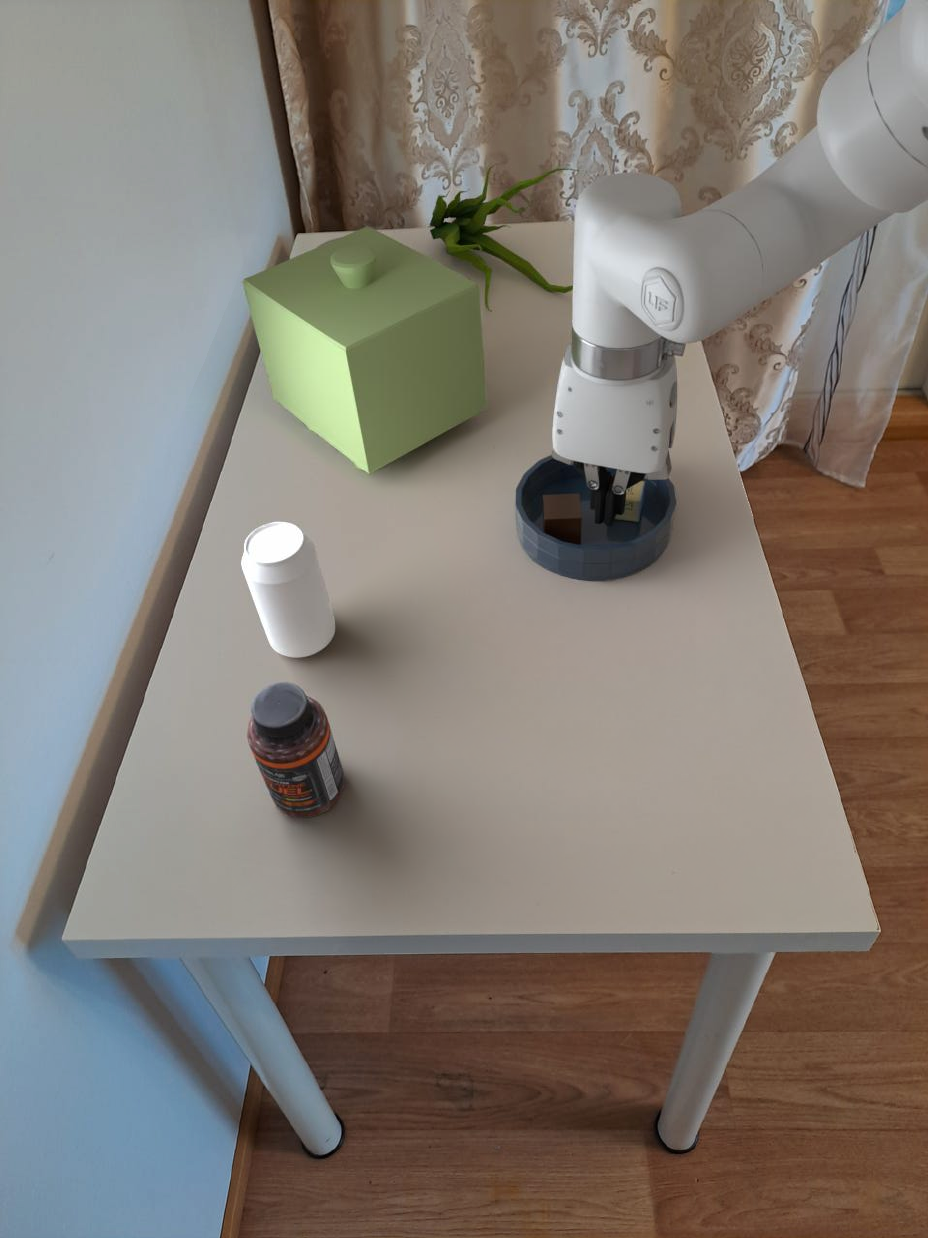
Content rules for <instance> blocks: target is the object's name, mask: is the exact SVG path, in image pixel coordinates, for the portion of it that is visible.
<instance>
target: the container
mask: <svg viewBox="0 0 928 1238" xmlns="http://www.w3.org/2000/svg"><path fill="white" fill-rule="evenodd" d="M340 237H341V238H340ZM340 237H338V238H339V239H336V238H335V239H336V240H334V241H332V242H329V243H327V244H325V245H322V246H320V247H318V246H317V247H314V248H312V249H311V250H307V251H305V252H304V253H301V254H299V255H297V256H294V257H292V258H289V259H287V260H285V261H282V262H280V263H278V264H276V265H274V266H270V267H268V268H266V269H264V270H262V271H260V272H257V273H255V274H252V275H250V276H248V277H244V278H243V279H242V287H243V290H244V293H245V297H246V301H247V305H248V308H249V313H250V316H251V320H252V324H253V328H254V332H255V335H256V339H257V343H258V346H259V350H260V354H261V356H262V357H261V358H262V361H263V364H264V369H265V372H266V376H267V379H268V380H267V381H268V383H269V387H270V390H271V394H272V398H273V400H274V401H275V402H277V403H278V404H279V405H280V406H282V408H284V409H285V410H286V411H288V412H289V413H290V414H292V415H293V416H294V417H295V418H296V419H298V420H299V421H300V422H301V423H303V424H304V425H305V427H306V429H307V430H309V431H310V432H313V433H315V434H317V435H318V436H319V437H321V438H322V439H323V440H324V441H326V442H327V443H328V444H329V445H331V446H332V447H333V448H335V450H337V451H338V452H340V453H341V454H342V455H343V456H345V457H346V458H348V459H349V460H350V461H351V462H352V463H353V464H354V466H355V467H356V469H358V470H360V471H365V472H366V473H367V474H368V475H371V474H373V473H374V472H376V471H378V470H380V469H382V468H385V466H387V465H388V464H390V463H393V461H395V460H398V459H399V458H401V457H404V455H406V454H408V453H409V452H412V451H414V450H415V449H418V448H419V447H421V446H422V445H423V446H424V444H426V443H427V442H430V441H432V440H434V439H435V438H437V437H439V436H440V435H443V434H444V433H445V432H448V431H450V430H452V429H453V428H455V427H456V426H458V425H460V424H462V423H463V422H465V421H467V420H469V419H471V418H473V417H475V416H476V415H478V414H479V413H481V412H484V411H486V410H487V409H488V403H487V385H486V370H485V353H484V341H483V339H484V338H483V324H482V311H481V309H482V308H481V298H480V296H481V295H480V286H479V285H478V284H477V282H474V281H473V280H471V279H469V278H467V277H466V276H464V275H462V274H461V273H459V272H457V271H454V270H452V268H449V267H447V266H445V265H444V264H442V263H440V262H438V261H436V260H434V259H432V258H430V257H428V256H427V255H424V254H423V253H421V252H419V251H417V250H416V249H413V248H412V247H410V246H408V245H405V244H404V243H402V242H400V241H398V240H396V239H394V238H393V237H390V236H388V235H386V234H384V233H383V232H381V231H378V230H377V229H374V228H372V227H371V226H369V225H368V226H364V227H363V228H360V229H358V230H355V231H353V232H351V233H349V234H346V235H343V236H340Z"/></svg>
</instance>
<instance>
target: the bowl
mask: <svg viewBox="0 0 928 1238" xmlns="http://www.w3.org/2000/svg"><path fill="white" fill-rule="evenodd" d="M607 471H609V472H611V475H612V479H613V476H614V475H615V473H616V472H617V469H615V468H609V467H607ZM642 481H645V489H644V501H643V506H642V511H641V516H640V520H639V522H635V521H626V520H618V519H614V521H613V524H612V526H611V527H610V526H606V524H604V521H603V523H601V524H596V523H595V510H592V509H590V500H591V489H589V488H588V487H587V484H586V479H585V478H584V477H583V476H582V475H581V474H580V473H579V472H578V471H577V470H576V469H575V468H574V467H573V465H568V464H565V463H563V462H560V461H558V460H555V459H554V458H553V457H552V454H550V455H548V456H546V457H543V458H541V459H539V460H538V461H536V463H535V464H533V465H532V466H531V467H529V468H528V469H527V470H526V471H525V472H524V473H523V475H522V476H521V479H520V480H519V483H518V485H517V486H516V489H515V503H514V505H515V506H514V507H515V527H516V528H515V529H516V534H517V538H518V541H519V543H520V545H521V547H522V549H523V550H524V552H525V553H526V555H528V557H529V558H531V560H533V561H534V562H535V563H536V564H538V565H539V566H541V567H542V568H544V569H545V570H548V571H549V572H551V573H554V574H556V575H559V576H561V577H565V578H568V579H573V580H577V581H578V580H580V581H587V582H588V581H590V582H591V581H592V582H599V581H600V582H602V581H603V582H604V581H612V580H617V579H622V578H627V577H630V576H632V575H635V574H637V573H639V572H641V571H643V570H646V568H649V567H651V565H653V564H654V563H655V562H657V561H658V560H659V559H660V558H661V556H663V554H664V553H665V551H666V550H667V549H668V546H669V544H670V542H671V537H672V533H673V530H674V524H675V516H676V509H677V497H676V496H677V495H676V489H675V485H674V483H673V482H672V481H671V479H670V477H668V479H666V480H648V479H643V480H642ZM557 494H580V504H581V515H582V526H581V545H577V544H572V543H567V542H563V541H560V540H558V539H556V538H554V537H552V536H550V535H548V534H546V533H544V525H543V495H557Z"/></svg>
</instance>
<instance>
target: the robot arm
mask: <svg viewBox="0 0 928 1238" xmlns="http://www.w3.org/2000/svg"><path fill="white" fill-rule="evenodd" d="M926 201H928V0H905V1H904V3H903V6H902V8H900V9H899V10H898V11H897V12H896V13H895V14H894V15H893V16H892V17H891V18H889V19H888V20H887V21H886V22H885V23H884V24H883V25H882V26H881V27H879V29H876V31H875V32H874V33H873V34H872V35H871V36H869V38H868V39H867V40H865V42H863V43H862V44H861V45H860V46H859V47H858V48H857V49H856V50H855V51H853V52H852V53H851V54H850V55H849V56H848V57H846V58H845V59H844V60H843V61H842V62H841V63H840V64H839V65H837V67H836V68H834V70H833V71H832V73H830V75H829V76H828V77H827V79H826V80H825V81H824V84H823V86H822V88H821V91H820V94H819V97H818V102H817V109H816V125H815V126H814V127H813V128H812V129H811V130H810V131H809V132H807V134H805V136H803V137H802V138H801V139H800V140H799V141H797V142H796V143H795V144H794V145H793V146H792V147H791V148H790V149H788V150H787V151H786V152H784V154H783V155H782V156H780V157H779V158H777V160H775V161H774V162H773V163H772V164H771V165H770V166H769V167H767V168H766V169H765V170H764V171H762V172H761V173H760V174H759V175H757V176H756V177H755V178H753V179H752V180H751V181H749V182H748V183H746V184H744V185H743V186H742V187H739V188H738V189H735V190H734V191H732V192H730V193H728V194H726V195H724V196H723V197H721V198H719V199H717V200H716V201H714V202H712V203H710V204H709V205H707V206H705V207H703V208H702V209H701V208H700V210H697V211H696V212H694V213H690V214H687V215H683V216H682V202H681V197H680V194H679V192H678V191H677V190H676V188H675V187H674V186H673V185H672V184H671V182H669V181H667V180H666V179H665V178H662V177H660V176H658V175H653V174H649V173H644V172H619V173H612V174H608V175H604V176H601V177H598V178H596V179H595V180H593V181H592V182H590V183H589V184H587V185H586V186H585V188H583V190H582V191H581V193H580V194H579V196H578V197H577V200H576V203H575V207H574V218H573V219H574V221H573V225H574V227H573V269H572V270H573V273H572V274H573V275H572V285H573V290H572V308H571V309H572V315H571V316H572V317H571V319H572V320H571V342H570V343H569V344H568V345H567V347H566V349H565V353H564V355H563V358H562V362H561V365H560V366H561V367H560V370H559V375H558V379H557V380H558V381H557V386H556V392H555V402H554V409H553V416H552V417H553V418H552V434H551V437H552V439H551V440H552V451H551V455H552V457H553V458H554V459H555V460H558V461H560V462H563V463H565V464H568V465H573V467H574V468H575V469H576V470H577V471H578V472H579V473H580V474H581V475H582V476H583V477H584V478H585V479H586V484H587V487H588V488H589V489H591V500H590V509H592V510H595V523H596V524H601V523H603V521H604V524H606V526H610V527H611V526H612V524H613V521H614V519H615V517H616V514H617V515H622V514H623V511H624V508H625V502H626V491H627V489H628V488H630V487H632V486H633V485H635V484H637V483H639V482H641V481H642V480H643V479H648V480H666V479H668V478H670V474H671V472H672V470H673V469H672V461H671V460H672V459H671V457H670V456H671V455H670V449H672V447H673V445H674V441H675V437H676V436H675V435H676V428H677V412H678V371H677V369H678V368H677V363H676V357H683V356H684V354H685V351H686V345H687V344H694V343H695V344H696V343H699V342H702V341H704V340H705V339H708V338H711V337H712V336H714V335H715V334H717V333H718V332H720V331H721V330H723V329H724V328H726V327H727V326H729V325H730V324H733V323H734V322H735V321H737V320H739V319H740V318H741V317H743V316H744V315H746V314H747V313H748V312H750V311H751V310H752V309H754V308H755V307H757V306H759V305H760V304H762V303H763V302H765V301H766V300H768V299H769V298H771V297H772V296H774V295H775V294H777V293H779V292H780V291H782V290H783V289H785V288H787V287H788V286H790V285H791V284H793V283H795V282H796V281H797V280H799V279H800V278H802V277H804V276H805V275H806V274H807V273H809V272H810V271H812V270H813V269H815V268H816V267H818V266H819V265H820V264H822V263H824V261H826V260H827V259H829V258H830V257H832V256H833V255H835V254H836V253H838V252H839V251H840V250H842V249H844V248H845V247H846V246H848V245H849V244H851V243H852V242H853V241H855V240H856V239H858V238H860V237H861V236H863V235H864V234H865V233H867V232H868V231H870V230H871V229H873V228H874V227H876V226H877V225H879V224H880V223H881V222H883V221H885V220H886V219H888V218H889V217H891V216H893V215H894V214H896V213H897V214H905V213H910V212H911V211H912V210H914V209H915V208H917V207H919V206H920V205H922V204H923V203H925V202H926ZM675 356H676V357H675ZM607 467H609V468H615V469H617V472H616V473H615V475H614V476H613V479H612V475H611V472H609V471H607Z"/></svg>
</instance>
